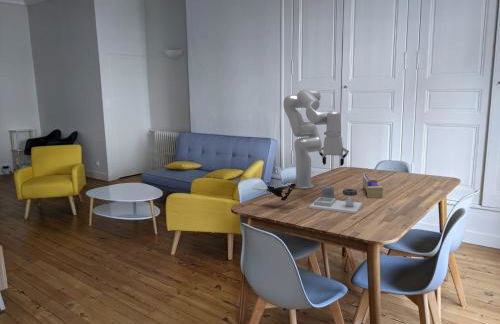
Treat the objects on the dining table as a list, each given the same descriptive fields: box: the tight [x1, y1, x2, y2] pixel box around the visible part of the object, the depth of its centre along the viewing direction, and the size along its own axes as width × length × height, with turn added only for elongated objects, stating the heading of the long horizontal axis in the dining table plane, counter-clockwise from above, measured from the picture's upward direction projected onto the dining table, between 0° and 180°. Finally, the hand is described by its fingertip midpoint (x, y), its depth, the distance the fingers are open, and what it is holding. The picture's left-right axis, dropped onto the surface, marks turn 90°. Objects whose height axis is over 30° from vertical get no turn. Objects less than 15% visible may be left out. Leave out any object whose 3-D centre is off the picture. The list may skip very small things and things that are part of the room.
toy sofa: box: [362, 173, 384, 199], centre depth 227 cm, size 21×9×10 cm, turn 171°
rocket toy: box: [251, 183, 296, 201], centre depth 206 cm, size 14×6×23 cm
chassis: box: [308, 196, 363, 214], centre depth 202 cm, size 24×16×6 cm, turn 63°
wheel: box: [342, 188, 358, 197], centre depth 198 cm, size 7×7×2 cm
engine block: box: [321, 185, 335, 198], centre depth 217 cm, size 5×6×7 cm
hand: (333, 164), depth 215 cm, fingers open, 9 cm apart
